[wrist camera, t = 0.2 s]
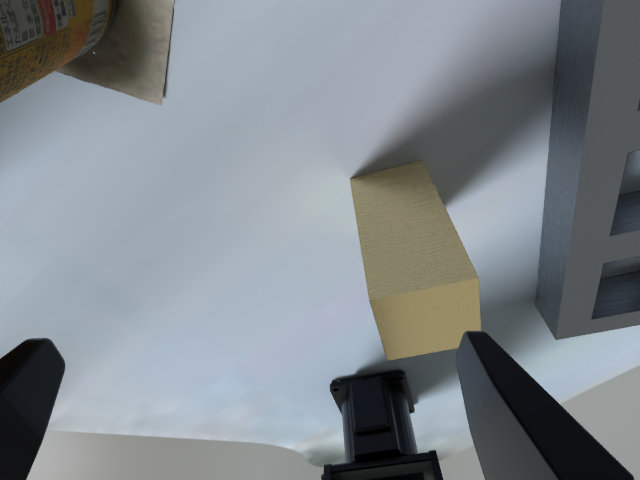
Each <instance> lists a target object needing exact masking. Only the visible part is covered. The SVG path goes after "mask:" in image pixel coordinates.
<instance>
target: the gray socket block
mask: <svg viewBox="0 0 640 480" xmlns="http://www.w3.org/2000/svg"><path fill="white" fill-rule="evenodd" d="M638 150H640V0H561V11H560V23H559V35H558V47H557V59H556V71H555V83H554V94H553V106H552V118H551V130H550V142H549V154H548V166H547V178H546V189H545V201H544V213H543V225H542V237H541V249H540V261H539V273H538V284H537V296H536V307H537V309H538V311H539V312H540V314H541V316H542V317H543V319H544V321H545V322H546V324H547V326H548V328H549V329H550V331H551V333H552V334H553V336H554V338H555V339H556V340H558V339H564V338H569V337H575V336H581V335H586V334H592V333H597V332H603V331H608V330H614V329H619V328H625V327H631V326H636V325H640V272H635V273H630V274H625V275H620V276H614V277H609V278H604V279H600V277H601V273H602V268H603V264H604V263H609V262H613V261H618V260H623V259H628V258H633V257H638V256H640V191H638V192H633V193H629V194H625V195H620V196H619V191H620V187H621V182H622V177H623V173H624V168H625V164H626V159H627V155H628V153H630V152H634V151H638Z"/></svg>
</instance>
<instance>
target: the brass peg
mask: <svg viewBox="0 0 640 480" xmlns="http://www.w3.org/2000/svg"><path fill="white" fill-rule="evenodd" d="M350 184H351V190H352V196H353V202H354V208H355V215H356V221H357V227H358V233H359V239H360V246H361V252H362V258H363V264H364V270H365V277H366V283H367V289H368V295H369V301H370V304H371V308H372V311H373V314H374V318H375V321H376V324H377V328H378V331H379V334H380V338H381V341H382V344H383V348H384V351H385V354H386V358H387V361H389V360H395V359H400V358H406V357H411V356H417V355H422V354H428V353H433V352H439V351H444V350H450V349H455V348H458V347H459V344H460V341H461V339H462V336H463V334H464V332H466V331H481V319H480V297H479V278H478V275H477V273H476V271H475V269H474V267H473V265H472V263H471V261H470V259H469V257H468V254H467V252H466V250H465V248H464V246H463V244H462V242H461V240H460V238H459V236H458V233H457V231H456V229H455V227H454V225H453V223H452V221H451V219H450V217H449V214H448V212H447V210H446V208H445V206H444V204H443V202H442V200H441V198H440V196H439V193H438V191H437V189H436V187H435V185H434V183H433V181H432V179H431V177H430V175H429V172H428V170H427V168H426V166H425V164H424V162H423V160H421V161H417V162H413V163H409V164H406V165H402V166H398V167H394V168H390V169H386V170H382V171H378V172H374V173H370V174H366V175H363V176H359V177H355V178H351V179H350Z"/></svg>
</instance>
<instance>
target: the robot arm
mask: <svg viewBox="0 0 640 480" xmlns="http://www.w3.org/2000/svg"><path fill="white" fill-rule="evenodd" d="M456 364H457V369H458V374H459V379H460V384H461V389H462V394H463V399H464V404H465V409H466V414H467V419H468V423H469V428H470V432H471V436H472V439H473V443H474V446H475V449H476V452H477V455H478V458H479V461H480V464H481V468H482V471H483V474H484V477H485V480H634V477H633V475H632V474H631V473H630V472H629V471H627V469H626V468H625V467H623V466H622V465H621V464H620V463H619V462H618V461H617V460H616V459H615V458H614V457H613V456H612V455H611V454H610V453H609V452H608V451H607V450H606V449H605V448H604V447H603V446H602V445H601V444H600V443H599V442H598V441H597V440H596V439H595V438H594V437H593V436H592V435H590V433H589V432H587V430H585V429H584V428H583V427H582V426H581V425H580V424H579V423H578V422H577V421H576V420H575V419H574V418H573V417H572V416H571V415H570V414H569V413H568V412H567V411H566V410H565V409H564V408H563V407H562V406H561V405H560V404H559V403H558V402H557V401H556V400H555V399H554V398H553V397H552V396H551V395H550V394H549V393H547V392H546V391H545V390H544V389H543V388H542V387H541V386H540V385H539V384H538V383H537V382H536V381H535V380H534V379H533V378H532V377H531V376H530V375H529V374H528V373H527V372H526V371H525V370H524V369H523V368H522V367H521V366H520V365H519V364H518V363H517V362H516V361H515V360H514V359H513V358H512V357H511V356H509V355H508V354H507V353H506V352H505V351H504V350H503V349H502V348H501V347H500V346H499V345H498V344H497V343H496V342H495V341H494V340H493V339H492V338H491V337H490V336H489V335H488V334H487V333H485V332H484V331H466V332H464V334H463V336H462V339H461V341H460V344H459V347H458V350H457V354H456ZM64 371H65V361H64V359H63V357H62V356H61V354H60V353H59V351H58V350H57V348H56V347H55V345H54V343H53V342H52V341H51V340H50V339H48V338H32V339H27V340H25V341H24V342H22V343H21V344H19V345H18V346H17V347H15V348H14V349H13V350H11V351H10V352H9V353H7V354H6V355H5V356H3V357H2V358H1V359H0V480H26V479H27V476H28V474H29V472H30V469H31V467H32V465H33V462H34V460H35V457H36V455H37V453H38V451H39V448H40V446H41V443H42V441H43V438H44V435H45V432H46V429H47V426H48V423H49V420H50V416H51V413H52V410H53V407H54V404H55V400H56V397H57V394H58V391H59V388H60V384H61V381H62V378H63V375H64ZM330 392H331V394H332V396H333V398H334V400H335V402H336V404H337V406H338V408H339V410H340V412H341V414H342V417H343V432H344V446H345V460H346V463H343V464H335V465H332V464H325V465H324V474H323V475H322V476H321V479H322V480H443V477H442V473H441V469H440V465H439V461H438V458H437V454H436V450H432V451H429V452H427V453H419V454H418V451H417V446H416V441H415V437H414V432H413V427H412V422H411V417H410V413H413V412H414V411H415V409H414V405H413V401H412V397H411V394H410V390H409V386H408V382H407V378H406V374H405V372H403V371H395V372H390V373H384V374H378V375H373V376H367V377H362V378H356V379H350V380H345V381H339V382H334V383H331V384H330Z"/></svg>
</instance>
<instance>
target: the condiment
mask: <svg viewBox="0 0 640 480" xmlns="http://www.w3.org/2000/svg"><path fill="white" fill-rule="evenodd" d="M173 7H174V0H0V102H2V101H4V100H6V99H7V98H9V97H11V96H13V95H14V94H17V93H19V91H21V90H23V89H24V88H26V87H28V86H29V85H31V84H33V83H35V82H36V81H38V80H40V79H41V78H43V77H45V76H47V75H48V74H50V73H52V72H53V71H57V72H60V73H62V74H65V75H68V76H72V77H74V78H77V79H79V80H82V81H85V82H90V83H93V84H97V85H100V86H103V87H105V88H110V89H113V90H116V91H119V92H123V93H126V94H128V95H131V96H134V97H136V98H139V99H142V100H146V101H149V102H153V103H156V104H159V105H162V98H163V88H164V84H165V74H166V66H167V55H168V50H169V41H170V32H171V22H172V13H173ZM93 52H95V53H96V54H93Z"/></svg>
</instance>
